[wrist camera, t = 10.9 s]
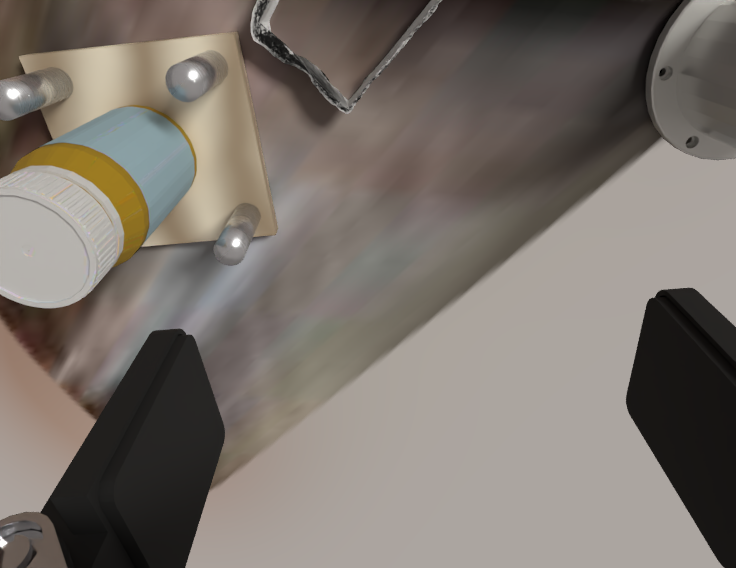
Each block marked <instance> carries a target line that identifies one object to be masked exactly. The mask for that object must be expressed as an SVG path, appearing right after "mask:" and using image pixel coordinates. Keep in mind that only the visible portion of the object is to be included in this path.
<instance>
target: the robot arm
mask: <svg viewBox="0 0 736 568" xmlns="http://www.w3.org/2000/svg"><path fill="white" fill-rule="evenodd" d="M661 69H663V71H662V73H661V74H660V75H659V73H660V70H661ZM645 96H646V102H647V108H648V113H649V115H650V117H651V120H652V122H653V125H654V127H655V128H656V129H657V131H658V132H659V133H660V135H661V136H662V137H663V138H664V139H665V140H666V141H667V142H669V143H670V144H671V145H672V146H674V147H675V148H677V149H679V150H680V151H683V152H684V153H686V154H689V155H692V156H695V157H698V158H701V159H713V160H724V159H735V158H736V0H684V1H683V2H682V3H681V4H680V6H679V7H678V8H677V10H676V11H675V12H674V13H673V15H672V16H671V17H670V19H669V20H668V22H667V24H666V25H665V27H664V29H663V31H662V32H661V34H660V36H659V38H658V40H657V42H656V45H655V48H654V50H653V53H652V55H651V58H650V62H649V67H648V71H647V76H646V95H645ZM687 139H688V140H687ZM626 404H627V409H628V412H629V414H630V416H631V418H632V419H633V421H634V422H635V424H636V426H637V427H638V429H639V431H640V432H641V434H642V436H643V437H644V439H645V440H646V442H647V444H648V446H649V447H650V449H651V451H652V452H653V454H654V456H655V457H656V459H657V460H658V462H659V464H660V465H661V467H662V469H663V470H664V472H665V474H666V475H667V477H668V478H669V480H670V482H671V483H672V485H673V487H674V488H675V490H676V492H677V493H678V495H679V497H680V498H681V500H682V502H683V503H684V505H685V507H686V508H687V510H688V512H689V513H690V515H691V517H692V518H693V520H694V521H695V523H696V525H697V527H698V528H699V530H700V532H701V533H702V535H703V536H704V538H705V540H706V541H707V543H708V545H709V546H710V548H711V550H712V551H713V553H714V554H715V556H716V558H717V560H718V561H719V562H720V563H721V565H722V566H723V567H724V568H736V327H735V326H734V325H733V324H732V323H731V322H730V321H728V320H727V319H726V318H725V317H724V316H723V315H722V314H721V313H720V312H719V311H718V310H717V309H716V308H715V307H714V306H712V305H711V304H710V303H709V302H708V301H707V300H706V299H705V298H704V297H703V296H702V295H701V294H700V293H699V292H698V291H696V290H695V289H693V288H680V289H668V290H661V291H659V292H658V293H657V294H656V296H655V298H651V299H649V301H648V303H647V306H646V310H645V315H644V319H643V324H642V328H641V333H640V337H639V341H638V346H637V350H636V355H635V360H634V364H633V368H632V373H631V378H630V382H629V386H628V391H627V396H626ZM224 438H225V430H224V424H223V421H222V418H221V415H220V412H219V409H218V406H217V403H216V401H215V398H214V395H213V392H212V389H211V386H210V383H209V380H208V377H207V374H206V371H205V368H204V365H203V362H202V359H201V356H200V353H199V350H198V347H197V344H196V341H195V339H194V337H193V336H192V335H186V333H185V332H184V331H183V330H182V329H170V330H157V331H153V332H152V333H151V334H150V335H149V337H148V338H147V340H146V342H145V343H144V345H143V346H142V348H141V350H140V351H139V353H138V355H137V356H136V358H135V359H134V361H133V363H132V364H131V366H130V368H129V369H128V371H127V373H126V374H125V376H124V377H123V379H122V381H121V382H120V384H119V386H118V387H117V389H116V390H115V392H114V394H113V395H112V397H111V399H110V400H109V402H108V404H107V405H106V406H105V408H104V410H103V411H102V413H101V415H100V416H99V418H98V420H97V421H96V423H95V424H94V426H93V428H92V429H91V431H90V433H89V434H88V436H87V438H86V439H85V441H84V443H83V444H82V446H81V448H80V449H79V451H78V452H77V454H76V456H75V457H74V459H73V460H72V462H71V464H70V465H69V467H68V469H67V470H66V472H65V473H64V475H63V477H62V478H61V480H60V482H59V483H58V485H57V486H56V488H55V490H54V491H53V493H52V495H51V496H50V498H49V499H48V501H47V503H46V504H45V506H44V508H43V509H42V511H41V513H39V512H24V513H20V514H16V515H12V516H9V517H7V518H5V519H2V520H0V568H185V566H186V563H187V560H188V556H189V553H190V550H191V547H192V544H193V540H194V537H195V534H196V531H197V527H198V524H199V521H200V518H201V514H202V511H203V508H204V505H205V502H206V498H207V495H208V492H209V489H210V485H211V482H212V479H213V476H214V472H215V469H216V466H217V463H218V460H219V456H220V453H221V450H222V447H223V443H224Z"/></svg>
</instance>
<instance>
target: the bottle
mask: <svg viewBox="0 0 736 568" xmlns="http://www.w3.org/2000/svg"><path fill="white" fill-rule="evenodd" d="M196 172H197V159H196V154H195V151H194V148H193V145H192V143H191V141H190V139H189V137H188V136H187V135H186V133H185V132H184V130H183V129H182V128H181V127H180V125H178V124H177V123H176V122H175V121H174V120H173V119H171V118H170V117H169V116H167V115H166V114H164V113H162V112H160V111H158V110H156V109H154V108H150V107H146V106H139V105H129V106H123V107H119V108H116V109H113V110H111V111H109V112H107V113H105V114H103V115H101V116H99V117H97V118H95V119H93V120H91V121H89V122H87V123H85V124H83V125H82V126H80V127H78V128H76V129H74V130H72V131H70V132H68V133H66V134H64V135H62V136H60V137H58V138H56V139H54V140H52V141H50V142H48V143H46V144H44V145H42V146H40V147H38V148H37V149H35V150H34V151H32V152H30V153H29V154H27V155H26V156H24V157H23V158H21V159H20V160H19V161H18V162H17V164H16V165H15V167H14V168H13V170H12V171H11V173H10V174H9V175H7V176H5V177H3V178H1V179H0V294H1V295H2V296H4V297H6V298H8V299H10V300H13V301H15V302H18V303H21V304H24V305H28V306H32V307H39V308H58V307H64V306H67V305H70V304H73V303H75V302H77V301H78V300H81V299H82V298H83V297H85V296H86V295H87V294H89V293H90V292H91V291H92V290H93V288H94V287H95V286H96V285H97V284H98V283H99V282H100V281H101V279H102V278H103V277H104V276H105V275H106V274H107V273H108V271H109V270H110V269H111V268H112V267H115V266H117V265H119V264H121V263H123V262H125V261H127V260H128V259H130V258H131V257H132V256H133V255H134V254H135V253H136V252H137V251H138V250H139V248H140V247H141V246H142V245H143V244H144V242H145V241H146V240H147V239H148V238H149V237H150V235H151V234H152V233H153V232H154V231H155V230H156V228H157V227H158V226H159V225H160V224H161V222H162V221H163V220H164V219H165V218H166V217H167V215H168V214H169V213H170V212H171V211H172V209H173V208H174V207H175V206H176V205H177V204H178V202H179V201H180V200H181V199H182V198H183V197H184V195H185V194H186V193H187V192H188V191H189V189H190V187H191V186H192V184H193V182H194V179H195V176H196Z"/></svg>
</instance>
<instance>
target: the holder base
mask: <svg viewBox="0 0 736 568" xmlns="http://www.w3.org/2000/svg"><path fill="white" fill-rule="evenodd" d="M207 50H214V51H217V52H219V53H220V54H221V55H222V56H223V57H224V58H225V59H226V61H227V64H228V74H227V77H226V78H225V79H224V80H223V81H222V82H221V83H219V84H218V85H216V86H215V87H213V88H212V89H211V90H209V91H208V92H206V93H205V94H203V95H202V96H201V97H199V98H198V99H196V100H195V101H192V102H182V101H180V100H178V99H176V98H175V97H173V96H172V95H171V93H170V92H169V90H168V89H167V86H166V82H165V77H166V73H167V71H168V69H169V68H170V67H171V66H173V65H174V64H177V63H179V62H181V61H184V60H186V59H188V58H190V57H193V56H195V55H197V54H200V53H202V52H204V51H207ZM19 58H20V61H21V63H22V66H23V68H24V71H25V73H26V74H27V73H30V72H34V71H38V70H41V69H45V68H48V67H57V68H60V69H62V70H63V71H64V72H66V73H67V74H68V76H69V77H70V78H71V80H72V83H73V92H72V94H71V96H70V97H68V98H66V99H64V100H61V101H59V102H56V103H54V104H51V105H49V106H46V107H43V108H41V112H42V114H43V117H44V119H45V121H46V124H47V126H48V129H49V131H50V134H51V136H52V138H53V140H54V139H56V138H58V137H60V136H62V135H64V134H66V133H68V132H70V131H72V130H74V129H76V128H78V127H80V126H82V125H83V124H85V123H87V122H89V121H91V120H93V119H95V118H97V117H99V116H101V115H103V114H105V113H107V112H109V111H111V110H113V109H116V108H119V107H123V106H129V105H139V106H146V107H150V108H154V109H156V110H158V111H160V112H162V113H164V114H166V115H167V116H169V117H170V118H171V119H173V120H174V121H175V122H176V123H177V124H178V125H180V127H181V128H182V129H183V130H184V132H185V133H186V135H187V136H188V137H189V139H190V141H191V143H192V145H193V148H194V151H195V154H196V159H197V172H196V176H195V179H194V182H193V184H192V186H191V187H190V189H189V191H188V192H187V193H186V194H185V195H184V197H183V198H182V199H181V200H180V201H179V202H178V204H177V205H176V206H175V207H174V208H173V209H172V211H171V212H170V213H169V214H168V215H167V217H166V218H165V219H164V220H163V221H162V222H161V224H160V225H159V226H158V227H157V228H156V230H155V231H154V232H153V233H152V234H151V235H150V237H149V238H148V239H147V240H146V241H145V242H144V244H143V245H142V246H141V247H145V246H156V245H168V244H179V243H190V242H202V241H213V240H218V238H219V236H220V235H221V233H222V231H223V229H224V228H225V226H226V224H227V222H228V221H229V219H230V217H231V215H232V214H233V212H234V210H235V209H236V207H237V206H238V205H240V204H242V203H250V204H253V205H254V206H256V207H257V208H258V209H259V211H260V214H261V220H260V222H259V224H258V227H257V229H256V231H255V233H254V236H253V237H258V236H270V235H276V233H277V230H278V226H277V221H276V216H275V211H274V206H273V201H272V196H271V192H270V187H269V182H268V177H267V172H266V167H265V162H264V157H263V152H262V148H261V143H260V138H259V133H258V128H257V123H256V118H255V113H254V108H253V103H252V99H251V94H250V89H249V84H248V79H247V74H246V69H245V64H244V59H243V54H242V50H241V45H240V40H239V35H238V32H230V33H220V34H211V35H202V36H193V37H183V38H174V39H165V40H156V41H146V42H137V43H128V44H118V45H109V46H100V47H91V48H81V49H72V50H63V51H54V52H44V53H35V54H28V55H23V56H19Z"/></svg>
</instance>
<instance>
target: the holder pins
mask: <svg viewBox="0 0 736 568" xmlns="http://www.w3.org/2000/svg"><path fill="white" fill-rule="evenodd" d="M227 74H228V64H227V61H226V59H225V58H224V57H223V56H222V55H221V54H220V53H219V52H217V51H214V50H207V51H204V52H202V53H200V54H197V55H195V56H193V57H190V58H188V59H186V60H184V61H181V62H179V63H177V64H174V65H173V66H171V67H170V68H169V69H168V71H167V73H166V77H165V82H166V86H167V89H168V90H169V92H170V93H171V95H172V96H173V97H175V98H176V99H178V100H180V101H182V102H192V101H195V100H196V99H198V98H199V97H201V96H202V95H203V94H205V93H206V92H208V91H209V90H211V89H212V88H213V87H215V86H216V85H218V84H219V83H221V82H222V81H223V80H224V79H225V78H226V77H227ZM72 92H73V83H72V80H71V78H70V77H69V76H68V74H67V73H66V72H64V71H63V70H62V69H60V68H57V67H48V68H45V69H41V70H38V71H34V72H30V73H27V74H23V75H19V76H16V77H12V78H8V79H5V80H1V81H0V119H1V120H6V121H9V120H13V119H15V118H18V117H21V116H23V115H26V114H28V113H31V112H33V111H36V110H38V109H41V108H43V107H46V106H49V105H51V104H54V103H56V102H59V101H61V100H64V99H66V98H68V97H70V96H71V94H72ZM260 220H261V214H260V211H259V209H258V208H257V207H256V206H254V205H253V204H250V203H242V204H240V205H238V206H237V207H236V209H235V210H234V212H233V214H232V215H231V217H230V219H229V221H228V222H227V224H226V226H225V228H224V229H223V231H222V233H221V235H220V236H219V238H218V240H217V242H216V243H215V245H214V248H213V252H214V255H215V257H216V259H217V260H218V261H219V262H221V263H223V264H225V265H230V266H233V265H237V264H239V263H240V262H241V261H242V260H243V258H244V256H245V254H246V251H247V249H248V247H249V245H250V242H251V240H252V238H253V236H254V233H255V231H256V229H257V227H258V224H259V222H260Z"/></svg>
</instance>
